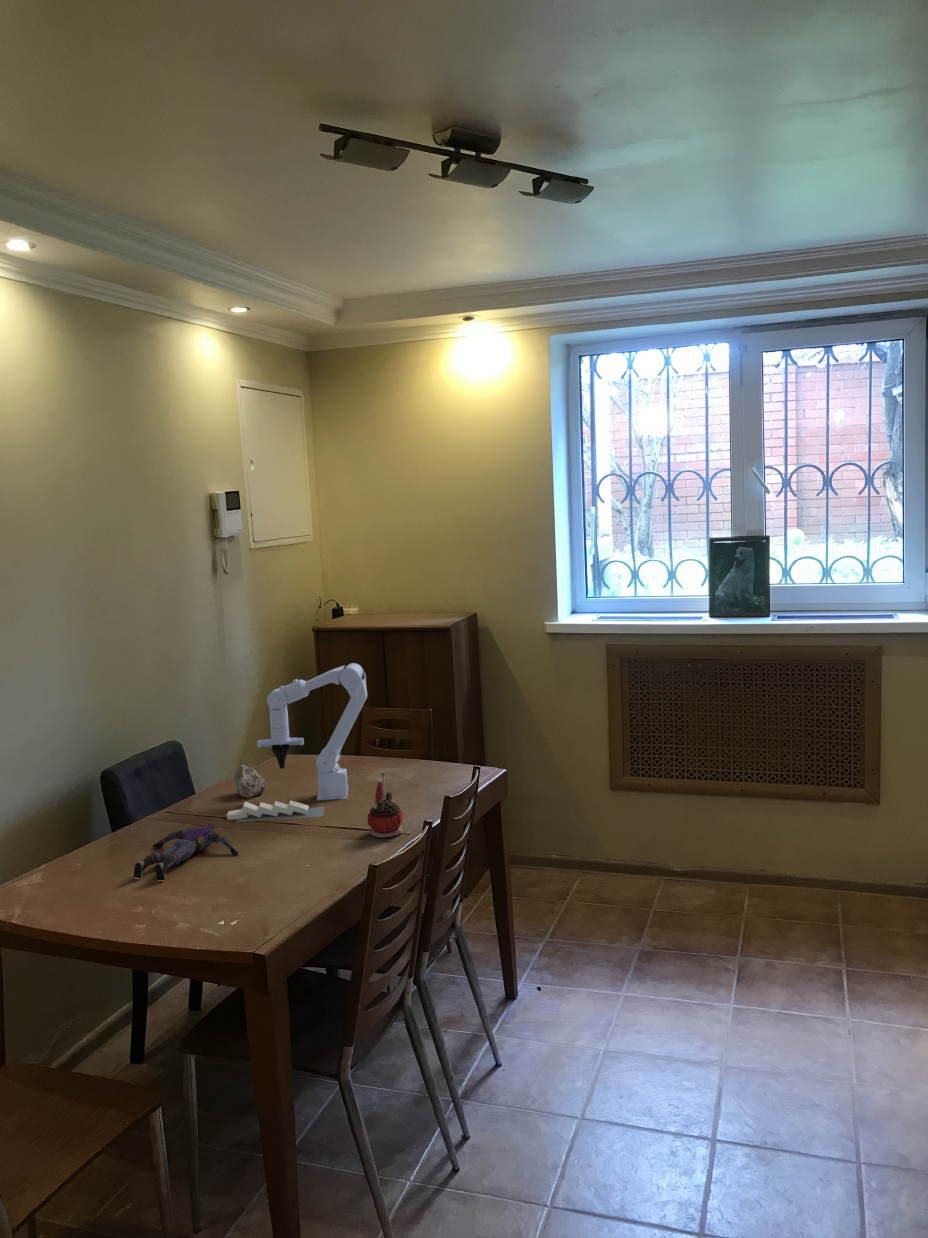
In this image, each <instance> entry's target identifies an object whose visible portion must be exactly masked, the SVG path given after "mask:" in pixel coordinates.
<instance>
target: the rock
mask: <svg viewBox="0 0 928 1238" xmlns="http://www.w3.org/2000/svg"><path fill="white" fill-rule="evenodd" d="M265 782H266V781H265V779H264V778H262V776H261V775H260V774H258V772H257V770H255V769H254V768H253V767H252V766H246V765H245V764H240V765H239V767H237V770H236V771H235V774H234V783H235V788H236V789H235V790H236V792H237V793H239V796H241V797H242V798H246V799H251V798H253V797H254V796H257V795H262V794H263V793H264V791H265V788H266V783H265Z"/></svg>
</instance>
